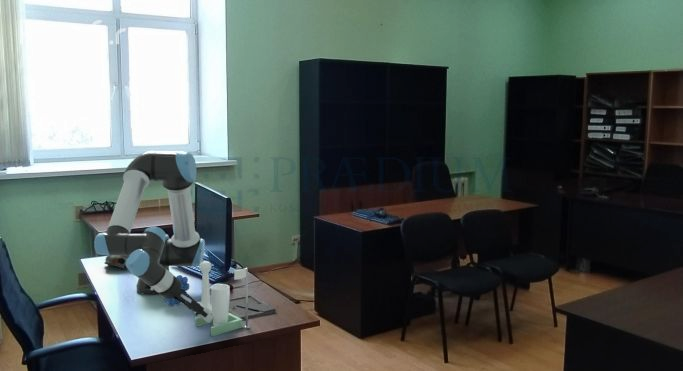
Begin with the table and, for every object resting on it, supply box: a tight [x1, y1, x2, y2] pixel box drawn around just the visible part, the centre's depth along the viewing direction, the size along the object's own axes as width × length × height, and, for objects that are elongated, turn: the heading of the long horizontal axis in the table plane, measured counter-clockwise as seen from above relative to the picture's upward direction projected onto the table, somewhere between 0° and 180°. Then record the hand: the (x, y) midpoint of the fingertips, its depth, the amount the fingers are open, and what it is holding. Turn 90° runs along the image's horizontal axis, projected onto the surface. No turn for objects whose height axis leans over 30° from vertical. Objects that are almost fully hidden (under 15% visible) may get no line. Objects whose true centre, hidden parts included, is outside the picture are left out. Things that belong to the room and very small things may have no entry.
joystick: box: [193, 260, 212, 315], centre depth 222 cm, size 11×8×20 cm
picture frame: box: [229, 293, 277, 320], centre depth 229 cm, size 16×2×21 cm
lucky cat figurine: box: [103, 255, 129, 270], centre depth 278 cm, size 15×12×14 cm
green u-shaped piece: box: [194, 313, 243, 337], centre depth 210 cm, size 12×12×3 cm
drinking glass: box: [210, 283, 231, 327], centre depth 209 cm, size 7×7×15 cm
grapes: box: [163, 274, 190, 307], centre depth 230 cm, size 12×7×12 cm, turn 143°
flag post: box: [233, 267, 251, 330], centre depth 207 cm, size 2×6×22 cm, turn 133°
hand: (210, 319), depth 207 cm, fingers closed
